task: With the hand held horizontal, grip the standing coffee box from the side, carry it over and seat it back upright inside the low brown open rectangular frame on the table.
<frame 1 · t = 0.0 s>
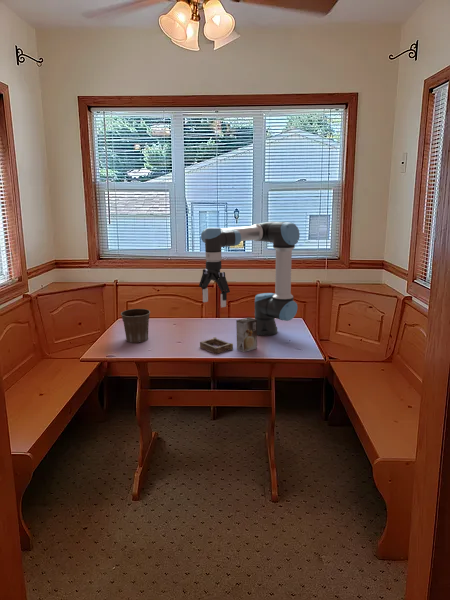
hand: (214, 304, 213), 28 cm above the table, tool pointing down, fingers open, 13 cm apart
coffee box: (246, 349, 233), on the table
plant pot: (137, 340, 250), on the table
brown open rectangular frame: (215, 348, 234), on the table
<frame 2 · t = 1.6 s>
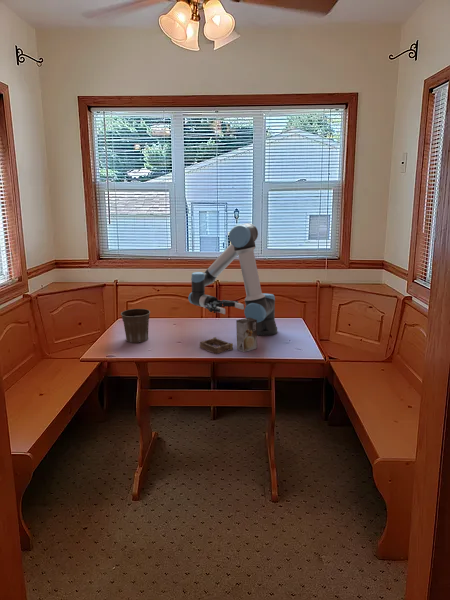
hand: (234, 309, 235), 20 cm above the table, tool horizontal, fingers open, 13 cm apart
nothing on the table moved.
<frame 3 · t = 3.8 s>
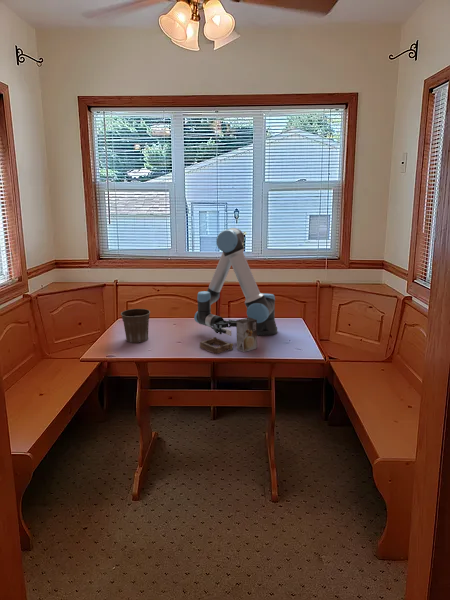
hand: (240, 330, 233), 9 cm above the table, tool horizontal, fingers open, 13 cm apart
nothing on the table moved.
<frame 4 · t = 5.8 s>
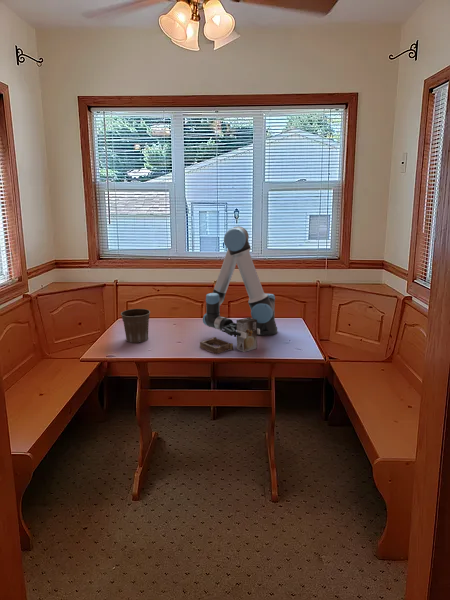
hand: (252, 333, 227), 10 cm above the table, tool horizontal, fingers closed on coffee box, 9 cm apart
coffee box: (246, 349, 233), on the table, touching gripper
everything else where it was.
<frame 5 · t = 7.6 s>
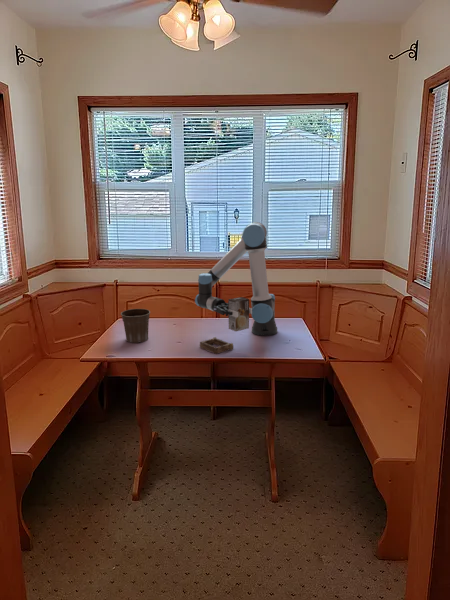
hand: (244, 312, 225), 21 cm above the table, tool horizontal, fingers closed on coffee box, 9 cm apart
coffee box: (238, 329, 231), point 11 cm above the table, touching gripper
everything else where it was.
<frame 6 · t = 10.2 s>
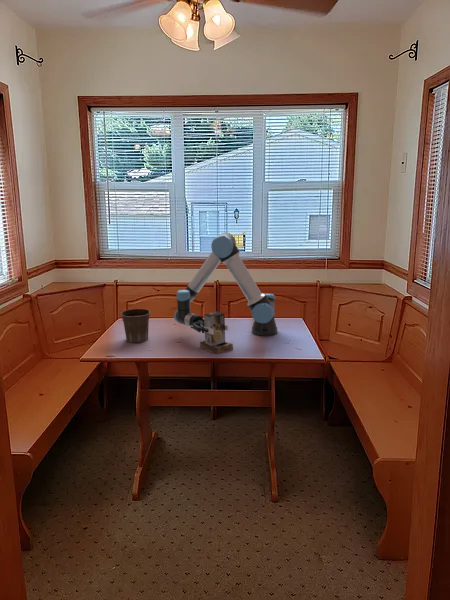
hand: (220, 329, 228), 11 cm above the table, tool horizontal, fingers closed on coffee box, 9 cm apart
coffee box: (214, 343, 234), point 3 cm above the table, touching gripper, brown open rectangular frame
everything else where it was.
when the fingers open (11 cm above the table, at t = 10.5 s): coffee box stays where it is, resting on brown open rectangular frame.
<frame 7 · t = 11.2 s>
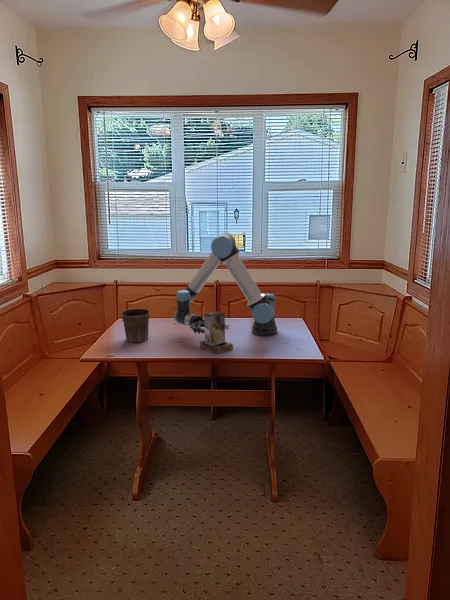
hand: (219, 329, 230), 11 cm above the table, tool horizontal, fingers open, 13 cm apart
coffee box: (214, 343, 234), point 3 cm above the table, touching brown open rectangular frame
everything else where it was.
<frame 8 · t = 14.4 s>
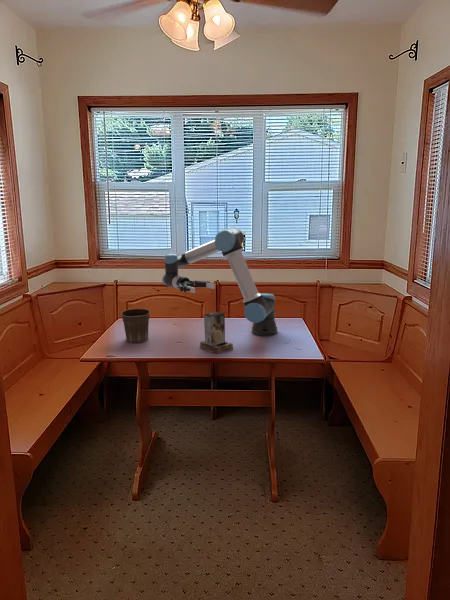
hand: (204, 288, 239), 30 cm above the table, tool horizontal, fingers open, 13 cm apart
nothing on the table moved.
at the end: coffee box 0.3 cm from the brown open rectangular frame (horizontally); coffee box tilted 0°; the gripper is holding nothing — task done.
